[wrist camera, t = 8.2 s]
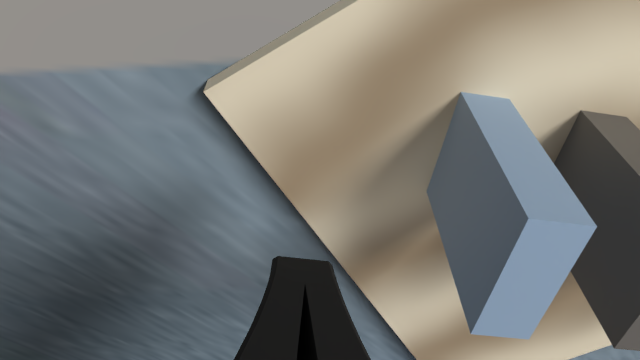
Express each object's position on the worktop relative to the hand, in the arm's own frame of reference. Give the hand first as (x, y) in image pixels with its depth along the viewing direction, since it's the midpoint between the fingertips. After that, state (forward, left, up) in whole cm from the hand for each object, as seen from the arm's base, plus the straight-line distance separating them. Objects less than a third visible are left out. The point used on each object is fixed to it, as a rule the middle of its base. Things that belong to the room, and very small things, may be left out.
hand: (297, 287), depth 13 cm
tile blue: (-4, -5, -8) cm, 10 cm away
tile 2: (-7, -8, -8) cm, 13 cm away
